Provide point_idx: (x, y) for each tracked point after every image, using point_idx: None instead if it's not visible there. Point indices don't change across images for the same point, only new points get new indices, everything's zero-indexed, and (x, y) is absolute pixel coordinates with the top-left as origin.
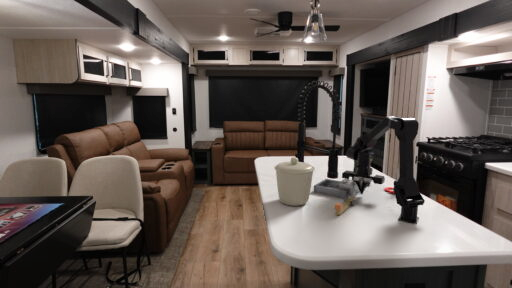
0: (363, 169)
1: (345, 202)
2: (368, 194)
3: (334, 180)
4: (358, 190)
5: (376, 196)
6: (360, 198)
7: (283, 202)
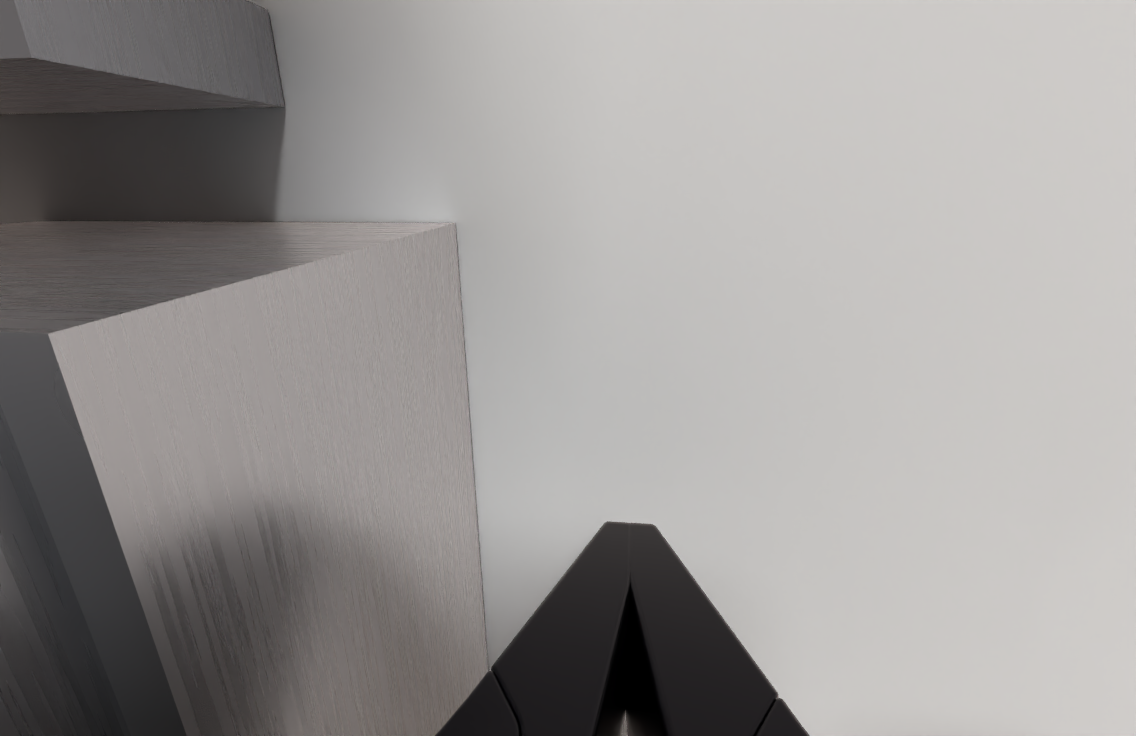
0: None
1: None
2: (772, 193)
3: None
4: (426, 316)
5: (1068, 246)
6: None
7: None
